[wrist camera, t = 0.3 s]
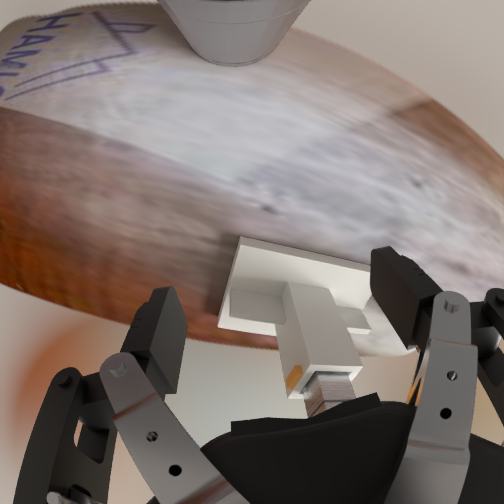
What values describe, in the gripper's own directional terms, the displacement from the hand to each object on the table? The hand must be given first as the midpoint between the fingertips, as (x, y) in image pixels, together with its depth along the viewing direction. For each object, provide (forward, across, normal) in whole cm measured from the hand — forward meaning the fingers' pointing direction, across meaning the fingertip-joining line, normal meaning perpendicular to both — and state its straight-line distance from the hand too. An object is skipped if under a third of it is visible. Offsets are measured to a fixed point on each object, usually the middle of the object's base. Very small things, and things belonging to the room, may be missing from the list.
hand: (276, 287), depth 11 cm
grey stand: (+20, -3, +15) cm, 25 cm away
